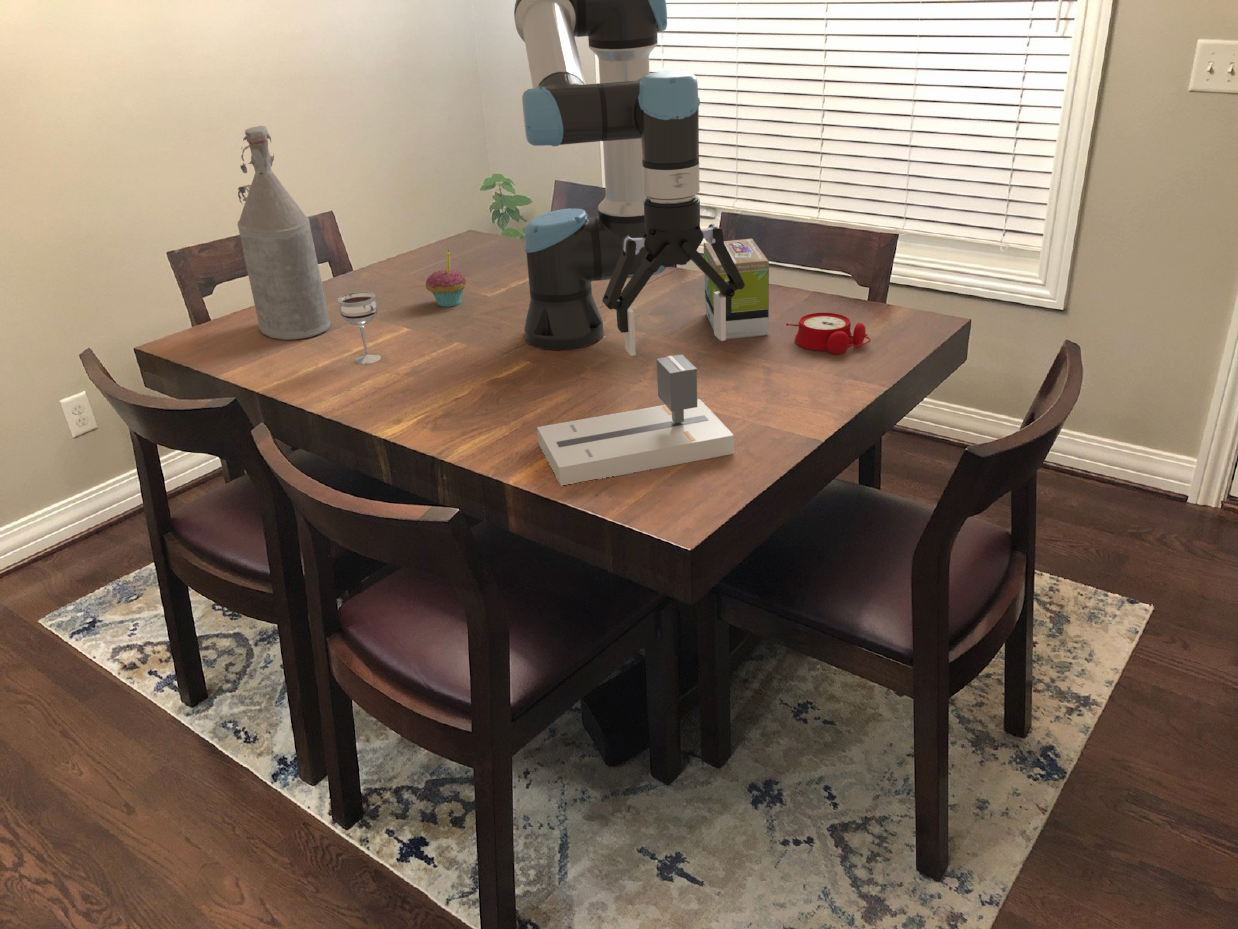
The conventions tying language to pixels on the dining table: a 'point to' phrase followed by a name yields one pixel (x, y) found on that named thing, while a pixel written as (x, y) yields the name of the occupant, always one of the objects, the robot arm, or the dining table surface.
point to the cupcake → (446, 285)
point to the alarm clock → (828, 333)
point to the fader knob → (677, 385)
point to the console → (632, 442)
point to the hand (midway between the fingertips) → (675, 344)
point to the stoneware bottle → (279, 252)
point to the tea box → (748, 301)
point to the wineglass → (360, 317)
